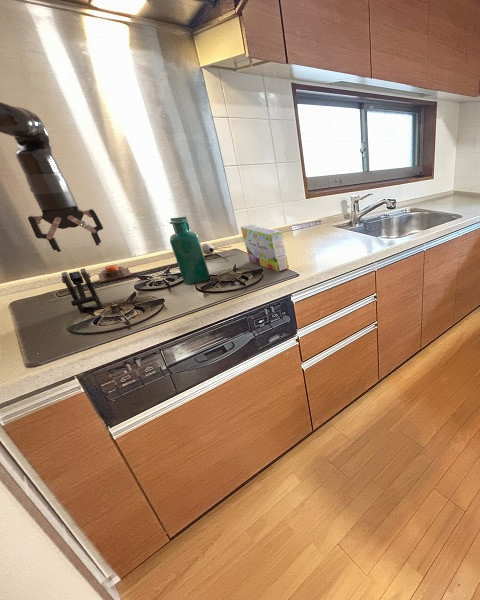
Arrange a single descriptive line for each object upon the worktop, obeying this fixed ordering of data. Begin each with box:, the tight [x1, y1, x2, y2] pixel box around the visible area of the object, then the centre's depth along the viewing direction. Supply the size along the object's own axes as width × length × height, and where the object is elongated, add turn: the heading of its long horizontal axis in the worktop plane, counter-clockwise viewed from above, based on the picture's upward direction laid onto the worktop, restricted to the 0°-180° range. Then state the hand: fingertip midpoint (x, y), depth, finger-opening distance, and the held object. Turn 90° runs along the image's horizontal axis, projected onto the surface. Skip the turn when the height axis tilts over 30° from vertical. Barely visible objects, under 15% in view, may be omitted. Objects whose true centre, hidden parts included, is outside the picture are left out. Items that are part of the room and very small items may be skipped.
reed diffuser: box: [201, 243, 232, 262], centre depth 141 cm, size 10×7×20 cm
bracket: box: [60, 267, 103, 314], centre depth 95 cm, size 10×9×13 cm
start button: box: [104, 264, 119, 272], centre depth 119 cm, size 4×4×2 cm
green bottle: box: [169, 216, 211, 285], centre depth 115 cm, size 10×8×22 cm
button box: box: [97, 266, 133, 284], centre depth 120 cm, size 11×9×4 cm
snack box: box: [240, 224, 290, 273], centre depth 129 cm, size 21×6×15 cm, turn 53°
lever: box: [68, 270, 97, 307], centre depth 91 cm, size 12×5×2 cm, turn 44°
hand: (79, 248), depth 95 cm, fingers open, 8 cm apart
